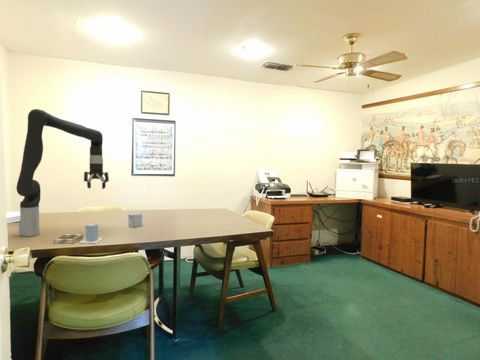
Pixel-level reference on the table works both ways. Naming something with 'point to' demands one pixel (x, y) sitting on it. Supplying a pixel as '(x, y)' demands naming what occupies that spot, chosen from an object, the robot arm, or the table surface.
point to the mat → (92, 242)
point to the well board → (68, 238)
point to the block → (92, 232)
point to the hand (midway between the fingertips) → (96, 188)
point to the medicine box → (135, 220)
